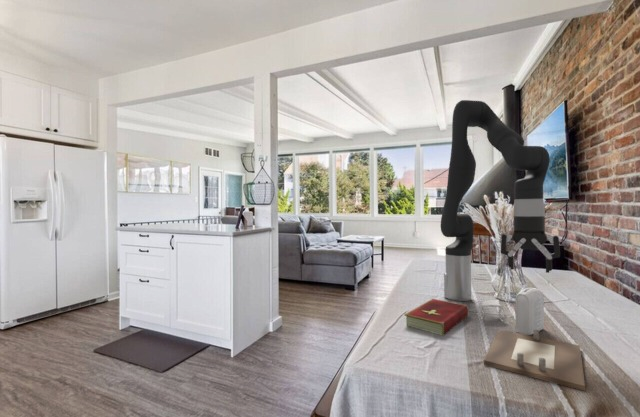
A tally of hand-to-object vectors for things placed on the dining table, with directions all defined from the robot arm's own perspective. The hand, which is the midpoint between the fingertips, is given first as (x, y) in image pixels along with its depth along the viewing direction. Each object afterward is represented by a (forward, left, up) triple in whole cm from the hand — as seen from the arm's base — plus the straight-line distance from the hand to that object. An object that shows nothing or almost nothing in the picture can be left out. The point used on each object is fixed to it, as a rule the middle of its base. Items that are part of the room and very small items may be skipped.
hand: (529, 270), depth 92 cm
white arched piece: (-10, +7, -18) cm, 22 cm away
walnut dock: (+2, -18, -18) cm, 25 cm away
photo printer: (0, 0, -18) cm, 18 cm away
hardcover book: (-24, -7, -18) cm, 31 cm away
